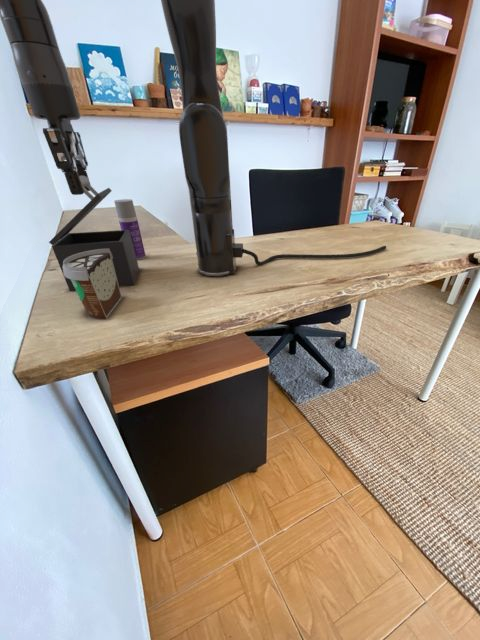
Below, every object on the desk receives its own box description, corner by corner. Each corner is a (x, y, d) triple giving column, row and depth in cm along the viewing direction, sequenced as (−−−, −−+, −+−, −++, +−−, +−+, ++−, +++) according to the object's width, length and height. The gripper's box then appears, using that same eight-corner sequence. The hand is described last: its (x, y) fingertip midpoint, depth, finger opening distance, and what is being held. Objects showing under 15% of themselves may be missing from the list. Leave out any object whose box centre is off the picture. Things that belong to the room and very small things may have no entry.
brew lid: (111, 190, 66) (90, 168, 63) (101, 197, 57) (75, 171, 54) (69, 232, 69) (46, 212, 66) (52, 245, 60) (25, 223, 57)
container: (140, 260, 83) (126, 201, 74) (125, 259, 84) (109, 201, 75) (149, 255, 87) (136, 199, 78) (134, 255, 87) (120, 199, 79)
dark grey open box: (139, 268, 77) (129, 229, 72) (134, 285, 68) (122, 241, 62) (83, 273, 74) (68, 233, 69) (69, 291, 65) (51, 246, 60)
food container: (94, 296, 63) (77, 248, 57) (124, 294, 63) (110, 247, 58) (68, 324, 53) (44, 269, 47) (103, 322, 53) (84, 268, 47)
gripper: (57, 76, 46) (94, 196, 56) (81, 91, 58) (108, 188, 67) (3, 75, 45) (50, 198, 54) (39, 90, 56) (72, 189, 66)
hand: (82, 192), depth 61 cm, fingers closed on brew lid, 6 cm apart
